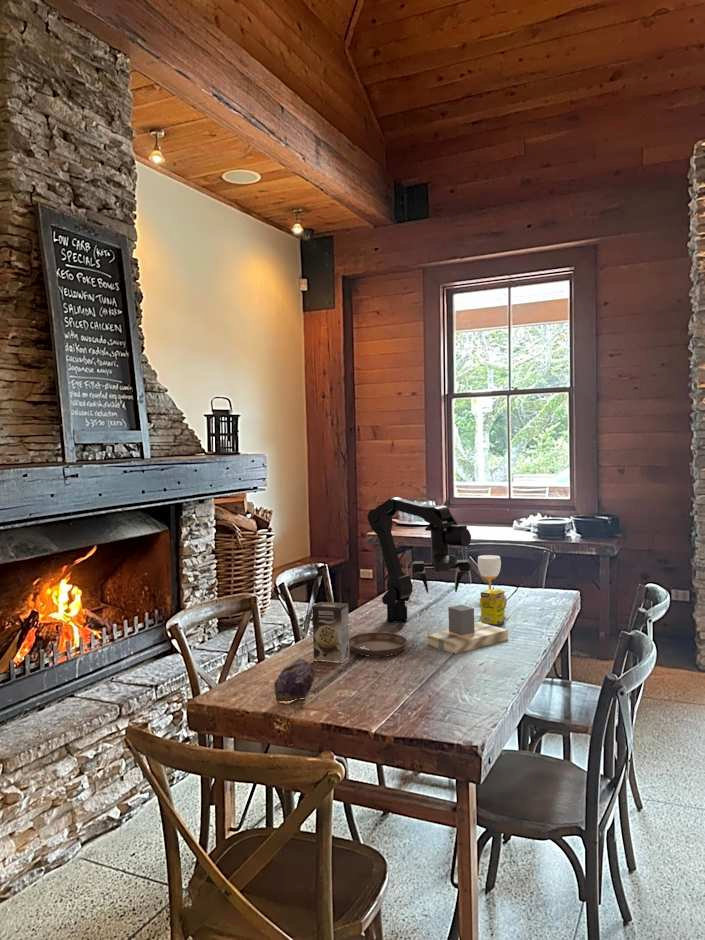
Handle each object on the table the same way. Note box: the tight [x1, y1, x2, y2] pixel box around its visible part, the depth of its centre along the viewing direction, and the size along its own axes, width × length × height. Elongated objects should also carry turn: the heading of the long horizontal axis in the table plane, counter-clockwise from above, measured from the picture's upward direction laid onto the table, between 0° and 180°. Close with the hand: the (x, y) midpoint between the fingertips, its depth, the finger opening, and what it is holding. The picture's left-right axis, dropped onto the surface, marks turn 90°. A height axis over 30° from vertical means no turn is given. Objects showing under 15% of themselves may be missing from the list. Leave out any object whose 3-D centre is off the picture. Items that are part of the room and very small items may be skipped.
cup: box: [477, 554, 502, 589], centre depth 276 cm, size 9×9×16 cm
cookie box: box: [311, 601, 350, 662], centre depth 208 cm, size 9×6×16 cm
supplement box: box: [480, 588, 505, 627], centre depth 241 cm, size 6×6×11 cm
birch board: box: [427, 621, 509, 655], centre depth 221 cm, size 22×12×3 cm, turn 125°
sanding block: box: [447, 604, 475, 637], centre depth 219 cm, size 6×5×8 cm
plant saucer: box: [349, 631, 408, 657], centre depth 217 cm, size 18×18×3 cm
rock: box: [274, 658, 316, 702], centre depth 179 cm, size 12×9×10 cm
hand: (441, 592), depth 236 cm, fingers open, 9 cm apart
